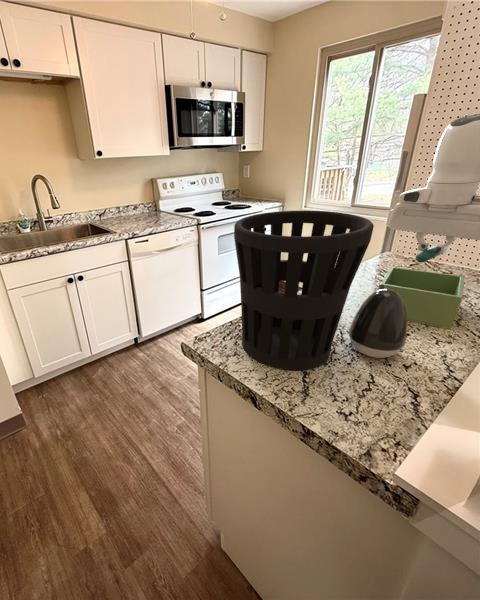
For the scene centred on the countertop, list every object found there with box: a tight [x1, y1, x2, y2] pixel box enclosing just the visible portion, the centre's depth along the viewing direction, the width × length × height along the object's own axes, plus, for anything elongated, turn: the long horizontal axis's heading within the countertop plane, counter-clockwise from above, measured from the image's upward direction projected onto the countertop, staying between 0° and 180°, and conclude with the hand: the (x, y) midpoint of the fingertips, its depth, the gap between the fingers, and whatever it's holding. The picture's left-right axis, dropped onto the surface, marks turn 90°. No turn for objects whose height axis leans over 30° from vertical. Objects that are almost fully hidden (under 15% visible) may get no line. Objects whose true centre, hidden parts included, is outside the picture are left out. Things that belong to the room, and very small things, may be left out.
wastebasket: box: [233, 210, 375, 372], centre depth 69 cm, size 25×25×30 cm
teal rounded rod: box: [414, 244, 441, 263], centre depth 78 cm, size 11×2×2 cm
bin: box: [379, 266, 466, 330], centre depth 83 cm, size 16×16×9 cm
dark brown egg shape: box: [348, 283, 408, 359], centre depth 67 cm, size 10×10×15 cm
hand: (430, 251), depth 78 cm, fingers closed on teal rounded rod, 2 cm apart
